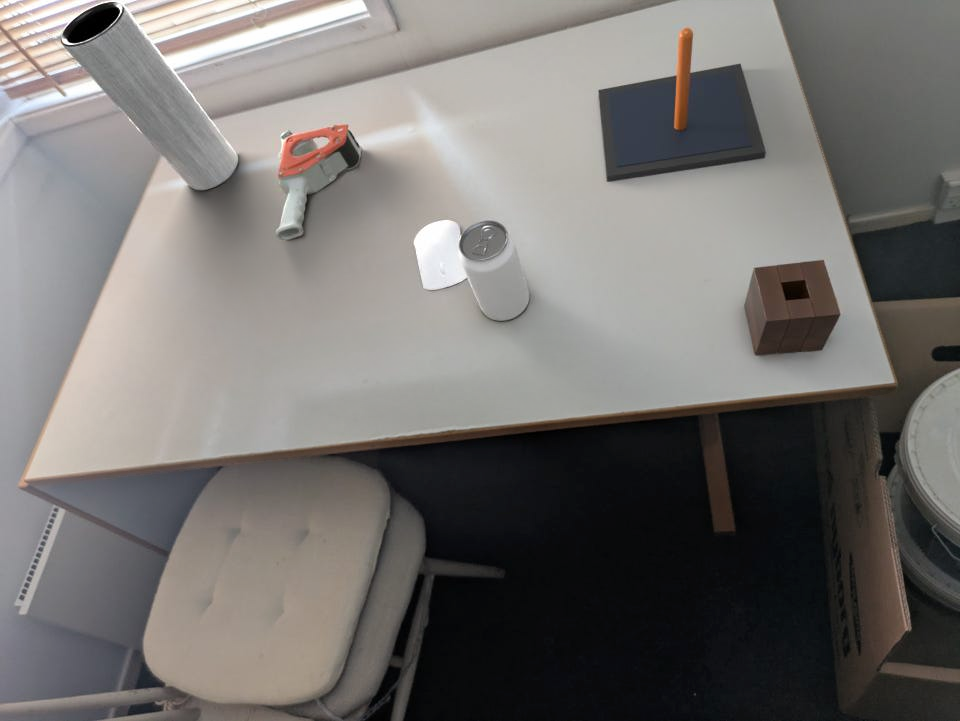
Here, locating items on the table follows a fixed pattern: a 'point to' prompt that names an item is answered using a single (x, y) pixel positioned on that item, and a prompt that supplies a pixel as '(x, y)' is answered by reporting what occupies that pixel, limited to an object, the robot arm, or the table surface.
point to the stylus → (683, 78)
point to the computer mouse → (439, 255)
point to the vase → (149, 93)
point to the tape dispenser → (311, 169)
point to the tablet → (650, 124)
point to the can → (494, 270)
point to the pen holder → (791, 308)
